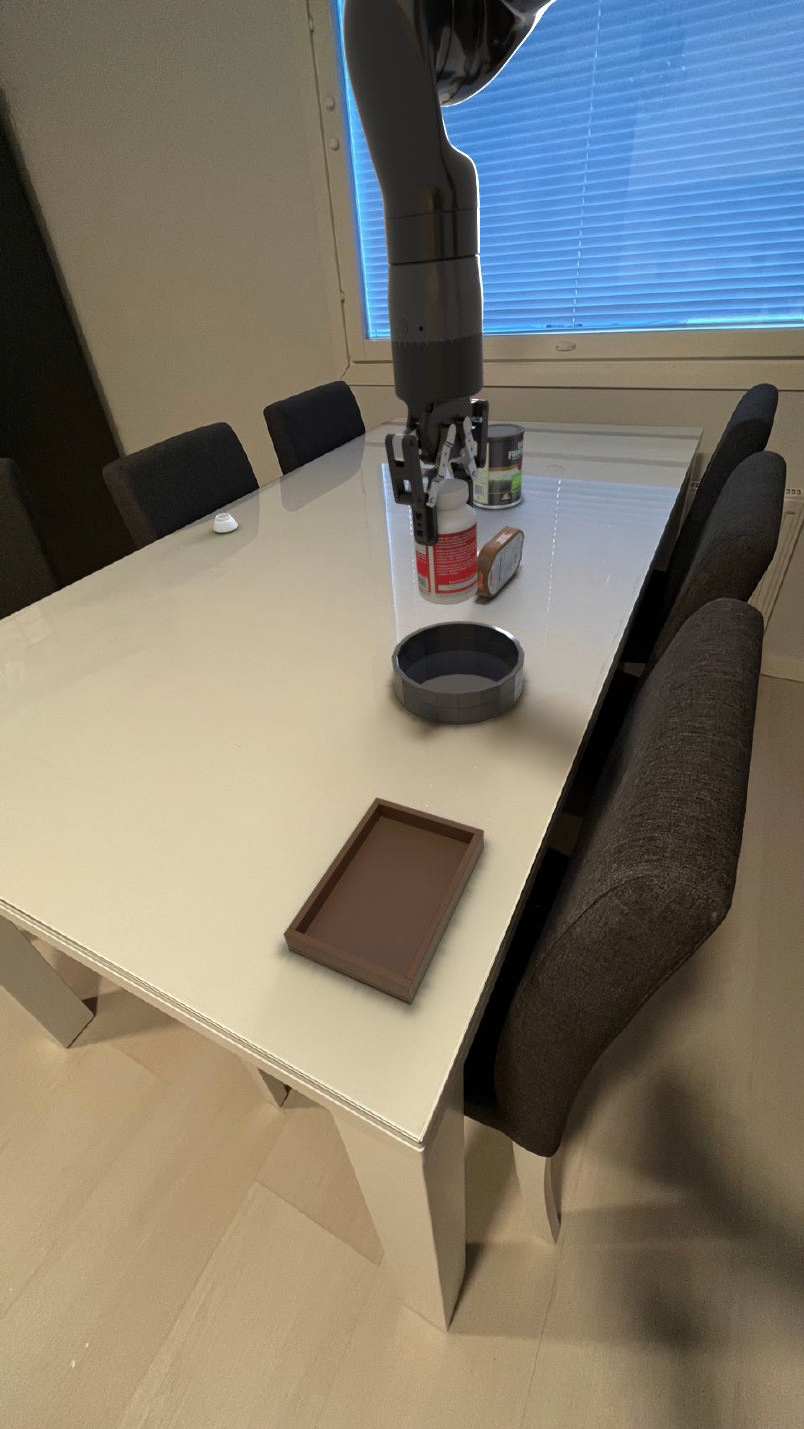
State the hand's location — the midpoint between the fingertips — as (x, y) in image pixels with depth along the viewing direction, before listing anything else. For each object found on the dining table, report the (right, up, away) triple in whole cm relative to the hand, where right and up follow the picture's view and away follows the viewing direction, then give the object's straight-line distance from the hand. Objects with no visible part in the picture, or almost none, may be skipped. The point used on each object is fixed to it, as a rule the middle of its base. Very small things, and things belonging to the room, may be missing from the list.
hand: (445, 530), depth 59 cm
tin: (+12, +3, +39) cm, 41 cm away
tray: (-5, -34, -5) cm, 35 cm away
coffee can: (+16, +27, +69) cm, 76 cm away
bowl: (+3, -14, +19) cm, 24 cm away
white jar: (-42, +21, +69) cm, 83 cm away
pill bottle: (+1, -5, +4) cm, 7 cm away
